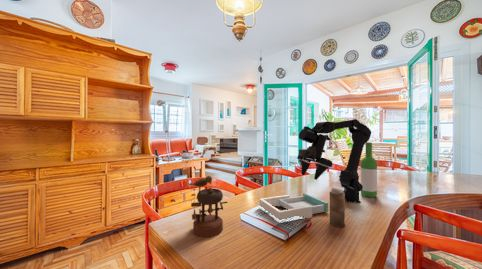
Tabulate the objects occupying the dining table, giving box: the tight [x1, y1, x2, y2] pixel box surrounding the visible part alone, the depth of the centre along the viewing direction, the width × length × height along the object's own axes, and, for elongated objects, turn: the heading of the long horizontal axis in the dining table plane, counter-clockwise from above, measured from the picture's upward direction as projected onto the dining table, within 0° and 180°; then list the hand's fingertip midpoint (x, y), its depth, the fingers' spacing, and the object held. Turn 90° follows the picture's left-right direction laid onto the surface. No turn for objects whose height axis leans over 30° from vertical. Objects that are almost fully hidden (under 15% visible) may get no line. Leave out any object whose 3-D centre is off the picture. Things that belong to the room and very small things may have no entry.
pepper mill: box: [329, 187, 346, 228], centre depth 75 cm, size 5×5×14 cm
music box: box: [188, 175, 228, 239], centre depth 71 cm, size 15×11×20 cm
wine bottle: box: [360, 141, 378, 198], centre depth 109 cm, size 8×8×30 cm
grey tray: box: [279, 192, 329, 215], centre depth 89 cm, size 16×15×4 cm
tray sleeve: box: [258, 194, 313, 220], centre depth 86 cm, size 16×17×4 cm
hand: (308, 177), depth 93 cm, fingers open, 9 cm apart
